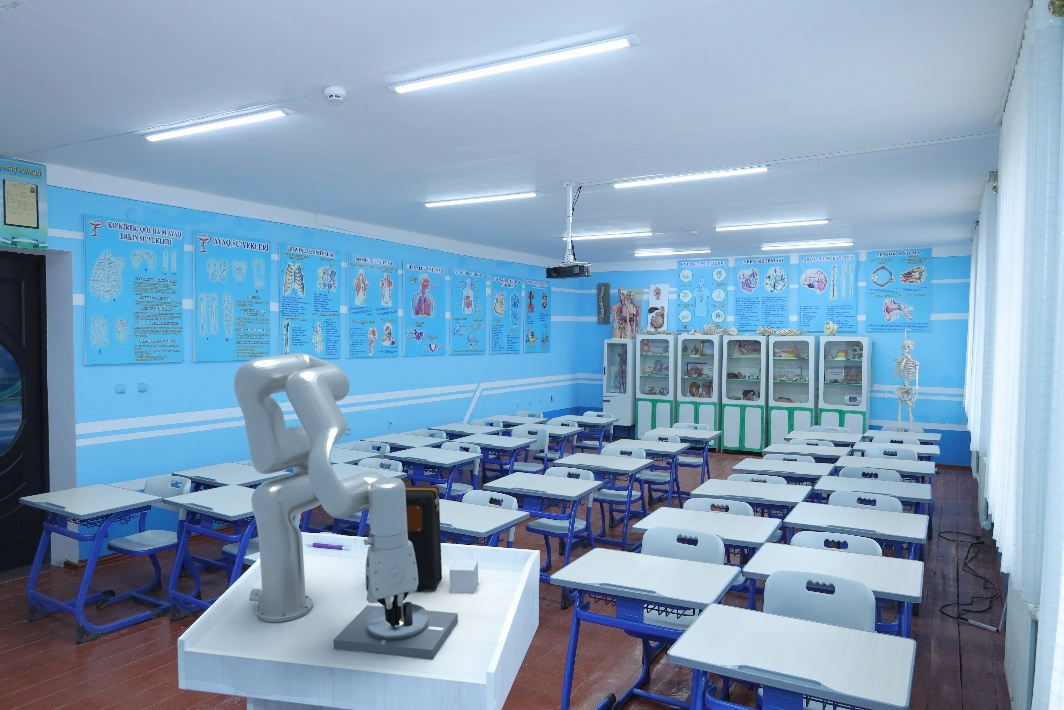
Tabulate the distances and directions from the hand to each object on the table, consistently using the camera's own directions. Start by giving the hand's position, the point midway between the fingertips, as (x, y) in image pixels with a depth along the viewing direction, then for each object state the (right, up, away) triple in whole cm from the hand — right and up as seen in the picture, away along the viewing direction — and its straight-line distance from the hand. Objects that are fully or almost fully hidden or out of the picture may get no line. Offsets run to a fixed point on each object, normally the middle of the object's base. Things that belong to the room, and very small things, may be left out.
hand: (393, 623), depth 149 cm
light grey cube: (+12, -2, +29) cm, 31 cm away
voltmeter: (-2, -2, +31) cm, 31 cm away
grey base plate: (0, -5, +6) cm, 8 cm away
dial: (0, -3, +6) cm, 6 cm away
